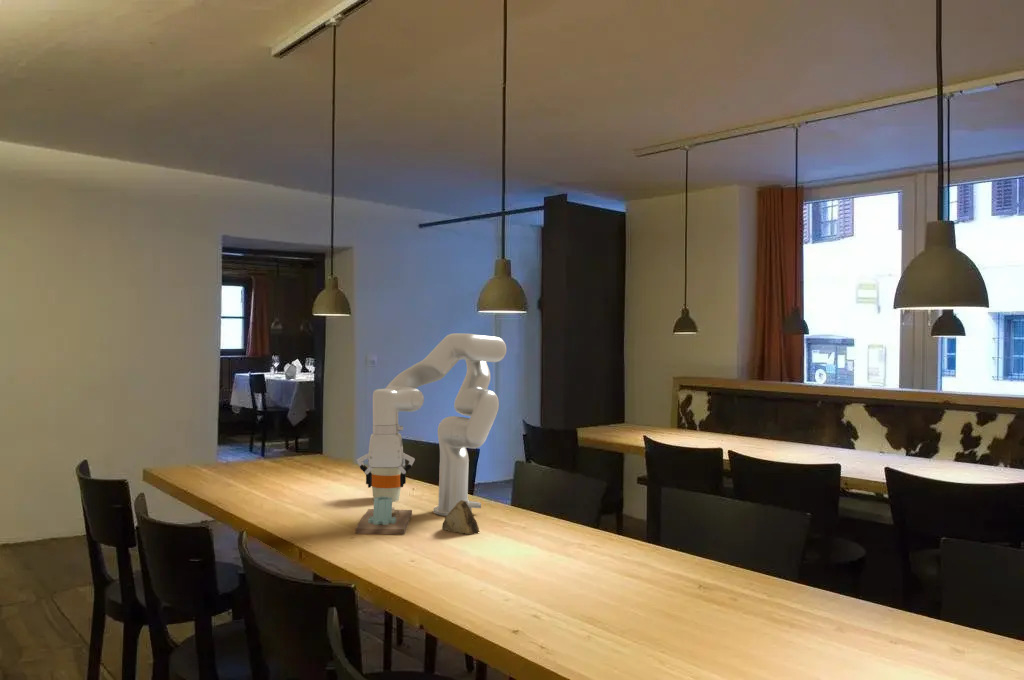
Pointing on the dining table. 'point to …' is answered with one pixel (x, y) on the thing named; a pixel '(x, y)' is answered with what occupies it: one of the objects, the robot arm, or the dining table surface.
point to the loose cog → (382, 511)
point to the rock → (461, 519)
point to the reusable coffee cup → (386, 482)
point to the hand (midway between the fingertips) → (386, 486)
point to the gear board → (395, 528)
